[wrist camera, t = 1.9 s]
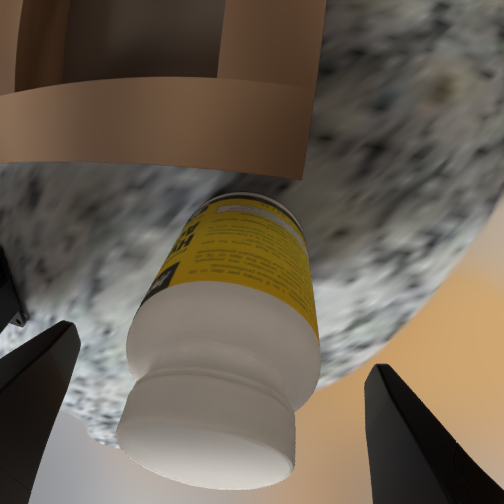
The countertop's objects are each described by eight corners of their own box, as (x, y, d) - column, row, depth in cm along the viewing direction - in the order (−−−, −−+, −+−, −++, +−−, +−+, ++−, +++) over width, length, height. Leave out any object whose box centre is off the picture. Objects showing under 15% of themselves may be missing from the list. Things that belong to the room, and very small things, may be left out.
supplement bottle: (197, 172, 13) (67, 357, 4) (323, 211, 13) (386, 430, 5) (174, 278, 15) (99, 465, 7) (281, 308, 16) (279, 505, 7)
